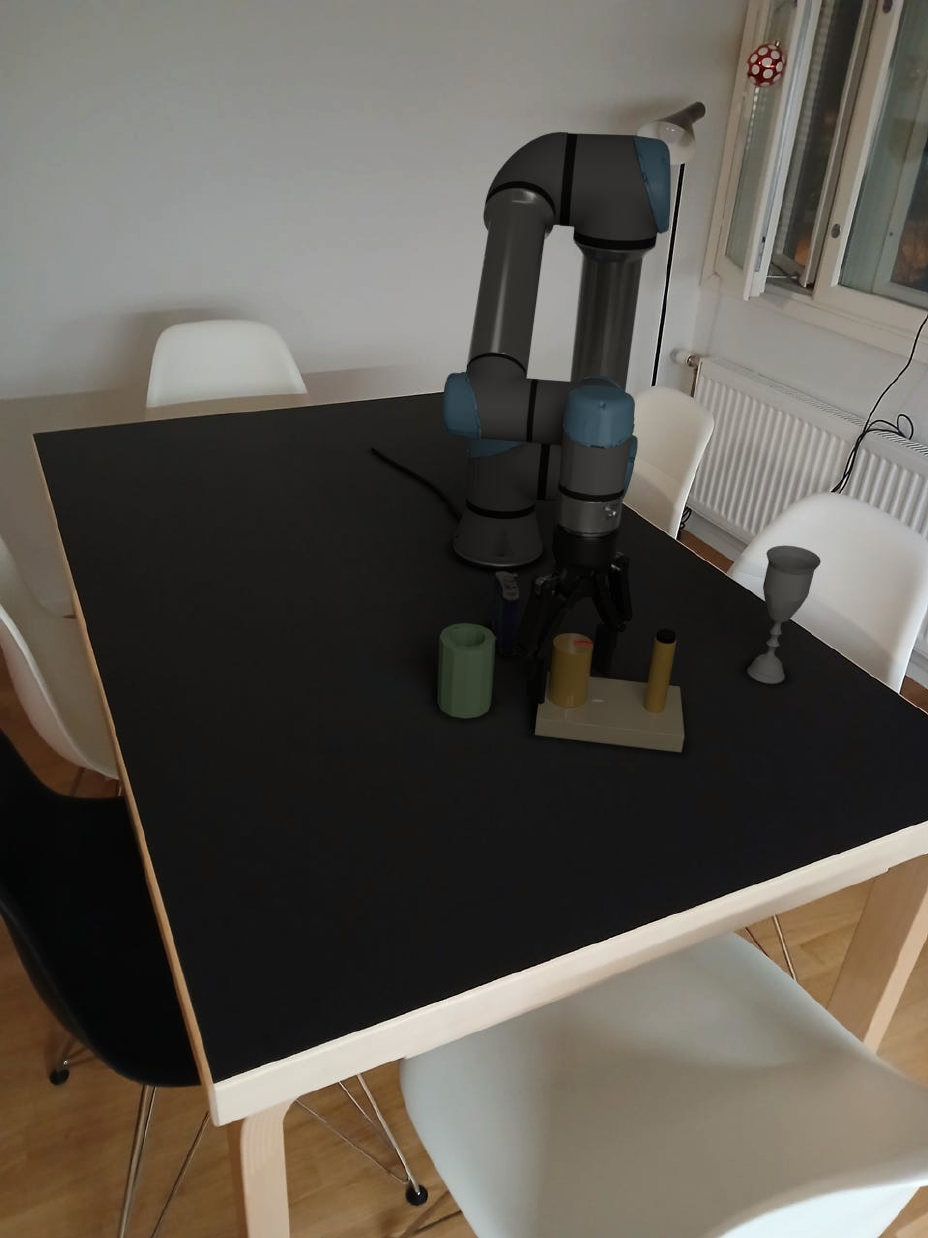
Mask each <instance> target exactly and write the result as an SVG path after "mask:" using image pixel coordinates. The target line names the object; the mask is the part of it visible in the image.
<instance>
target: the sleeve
mask: <svg viewBox="0 0 928 1238" xmlns="http://www.w3.org/2000/svg"><path fill="white" fill-rule="evenodd" d="M438 638H439V641H438V668H437V669H438V670H437V695H436V696H437V698H436V703H437V705H438V707H439V709H440V711H442V712H443V713H445V714H446V715H448V716H450V717H452V718H459V719H465V720H466V719H473V718H479V717H481V716H483V715H484V714H486V713H487V712H489V710H490V708H491V705H492V700H493V699H492V696H493V681H494V670H495V669H494V667H495V653H496V641H497V640H496V638H495V633H493V631H492V629H489V628H487V627H485V626H483V625H480V624H476V623H469V622H464V623H455V624H451V625H449V626H446V627H445V628H443V629H442V631H441V633H440V635H439V637H438Z"/></svg>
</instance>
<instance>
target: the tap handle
mask: <svg viewBox="0 0 928 1238" xmlns="http://www.w3.org/2000/svg"><path fill="white" fill-rule="evenodd" d="M593 648H594V641H593V640H592V639H590V638H589V637H588V636H586V635H584V634H581V633H576V632H566V633H560V634H558V635H555V636H554V638H553V640H552V647H551V657H550V667H549V672H550V675H549V685H548V698H549V700H550V701H551V702H552V703H554V704H556V705H558V706H561V707H566V708H574V707H579V706H581V705H583V704H584V703H585V702H586V700H587V693H588V685H589V677H591V669H592V668H591V664H592V656H593Z"/></svg>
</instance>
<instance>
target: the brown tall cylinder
mask: <svg viewBox="0 0 928 1238" xmlns="http://www.w3.org/2000/svg"><path fill="white" fill-rule="evenodd" d="M676 645H677V633H676V631H674V630H672V629H668V628H660V629H658V630H657V631H656V635H655V637H654V641H653V645H652V646H653V647H652V653H651V659H650V664H649V665H650V666H649V671H648V677H647V682H646V683H647V689H646V695H645V701H644V708H645V709H646V710H647V711H649V712H652V713H661V712H663V711H664V709H665V703H666V698H667V692H668V686H669V685H670V680H671V676H672V669H673V663H674V658H675V652H676Z"/></svg>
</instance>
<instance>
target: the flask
mask: <svg viewBox="0 0 928 1238" xmlns="http://www.w3.org/2000/svg"><path fill="white" fill-rule="evenodd" d="M514 577H515V578H516V577H518V573H516V572H514V573H511V572H509V571H496V572H494V581H493V585H494V586H493V604H492V615H491V616H492V617H491V631H492V632H494V636H495V638H496V640H495V641H498V642H497V645H498V646H499V647H498V649H499V653H500V654H501V655H504V656H505V657H512V656H515V655H516V654H517V653H516V652H515V651H513V649H512V648H513V644H514V641H515V638H516V635H517V632H518V629H519V615H520V614H519V613H520V603H521V591H520V588H519V585H518V583H517V581H516V579H515V578H514Z"/></svg>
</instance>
